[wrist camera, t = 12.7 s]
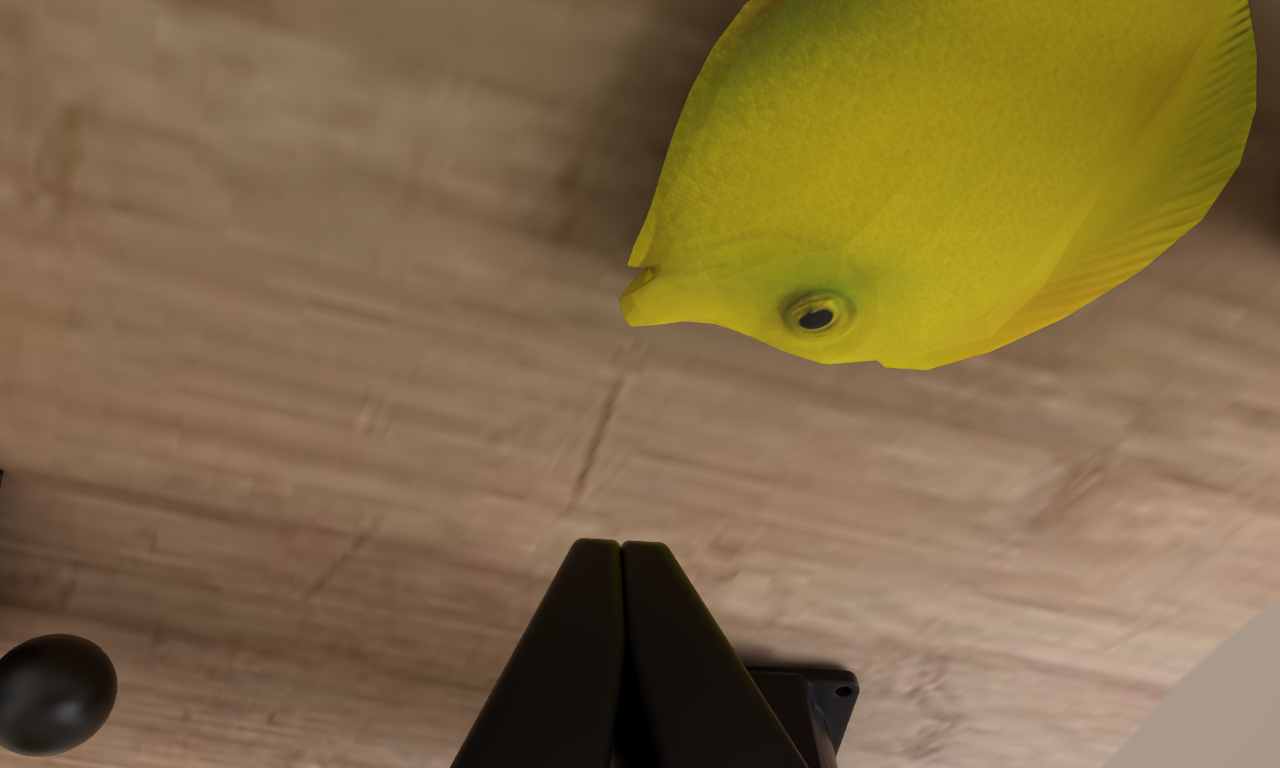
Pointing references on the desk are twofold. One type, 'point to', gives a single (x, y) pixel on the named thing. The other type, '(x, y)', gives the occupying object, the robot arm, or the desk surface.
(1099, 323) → the desk surface
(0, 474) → the bracket
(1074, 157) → the fish
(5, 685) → the lever
